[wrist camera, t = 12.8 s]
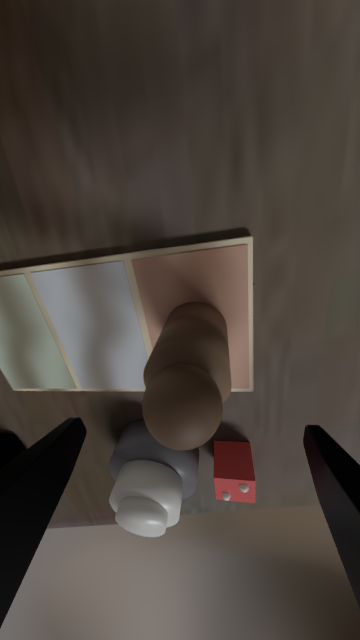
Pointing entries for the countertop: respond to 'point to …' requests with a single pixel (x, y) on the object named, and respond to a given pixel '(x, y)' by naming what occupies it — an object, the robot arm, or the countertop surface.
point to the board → (119, 314)
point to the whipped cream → (146, 497)
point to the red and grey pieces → (190, 463)
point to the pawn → (187, 377)
